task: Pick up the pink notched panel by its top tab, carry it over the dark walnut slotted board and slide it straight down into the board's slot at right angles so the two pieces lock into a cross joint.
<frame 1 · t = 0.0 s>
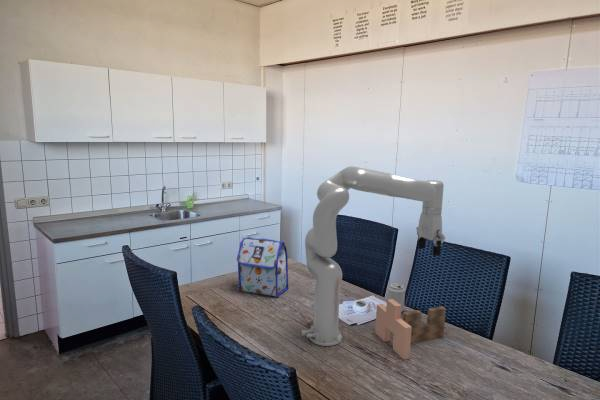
hand: (428, 251, 166), 31 cm above the table, fingers open, 9 cm apart
board: (422, 339, 157), on the table
pink notched panel: (391, 344, 153), on the table
lunch bag: (262, 291, 202), on the table
can: (395, 310, 183), on the table
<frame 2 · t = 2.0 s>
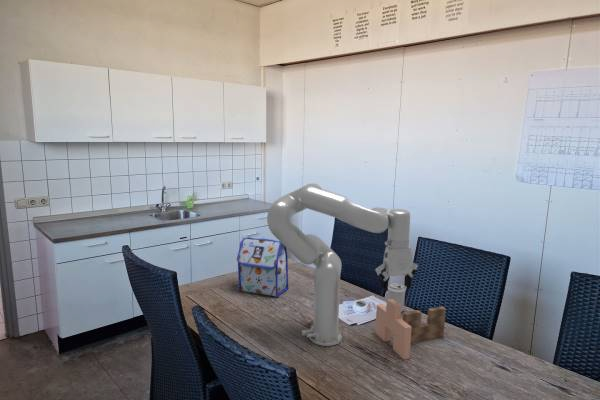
hand: (396, 288, 149), 23 cm above the table, fingers open, 9 cm apart
nothing on the table moved.
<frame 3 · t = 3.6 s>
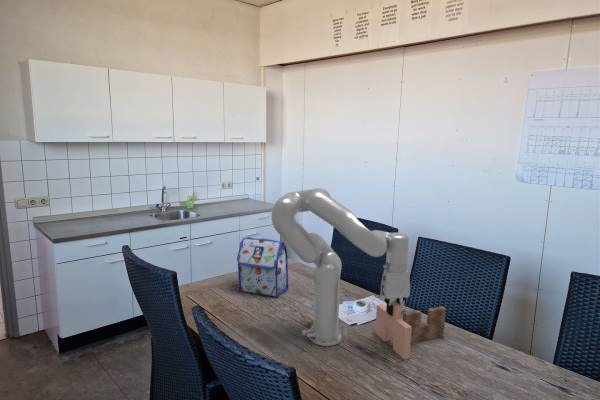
hand: (393, 313, 150), 13 cm above the table, fingers closed on pink notched panel, 2 cm apart
pink notched panel: (391, 344, 153), on the table, touching gripper
everything else where it was.
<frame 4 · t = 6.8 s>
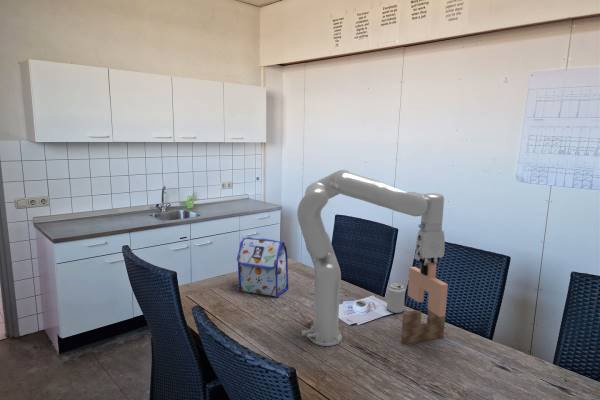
hand: (427, 273, 153), 27 cm above the table, fingers closed on pink notched panel, 2 cm apart
pink notched panel: (425, 305, 155), point 14 cm above the table, touching gripper
everything else where it was.
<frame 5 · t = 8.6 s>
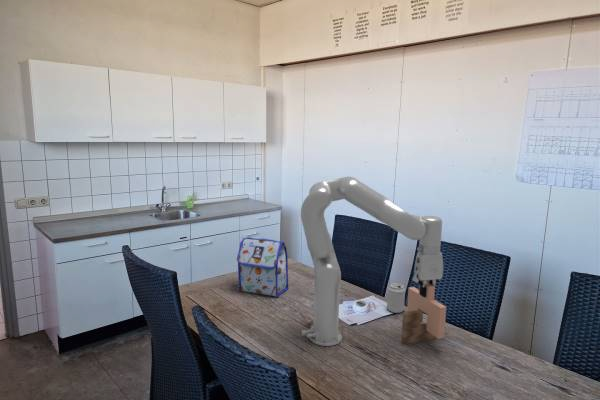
hand: (426, 295, 154), 18 cm above the table, fingers closed on pink notched panel, 2 cm apart
pink notched panel: (424, 326, 156), point 6 cm above the table, touching gripper
everything else where it was.
when the fingers open (13 cm above the table, at t = 10.1 s): pink notched panel stays where it is, on the table.
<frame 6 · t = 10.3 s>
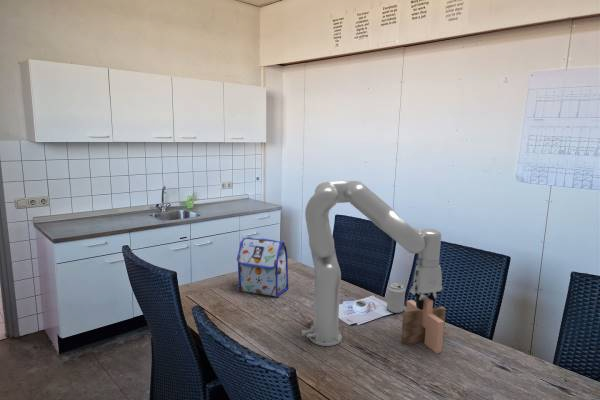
hand: (425, 307, 155), 13 cm above the table, fingers open, 4 cm apart
pink notched panel: (422, 339, 157), on the table
everything else where it was.
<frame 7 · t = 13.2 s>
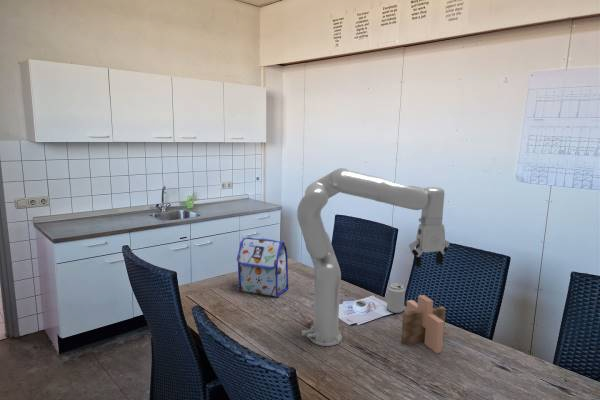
hand: (428, 265, 152), 30 cm above the table, fingers open, 9 cm apart
nothing on the table moved.
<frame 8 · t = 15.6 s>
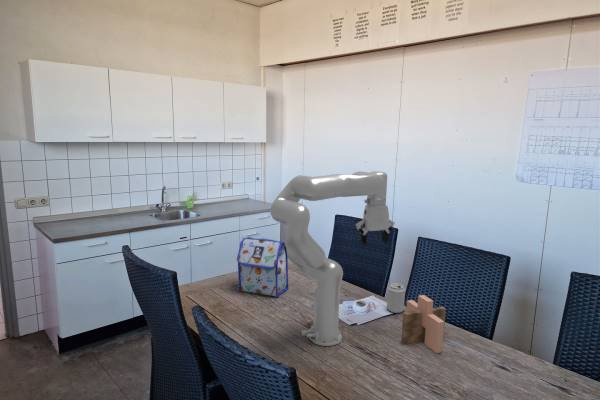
hand: (374, 242, 166), 34 cm above the table, fingers open, 9 cm apart
nothing on the table moved.
at the end: pink notched panel 0.1 cm off-centre on the board, point 0.0 cm above the board's base; pink notched panel tilted 0°; the gripper is holding nothing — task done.
